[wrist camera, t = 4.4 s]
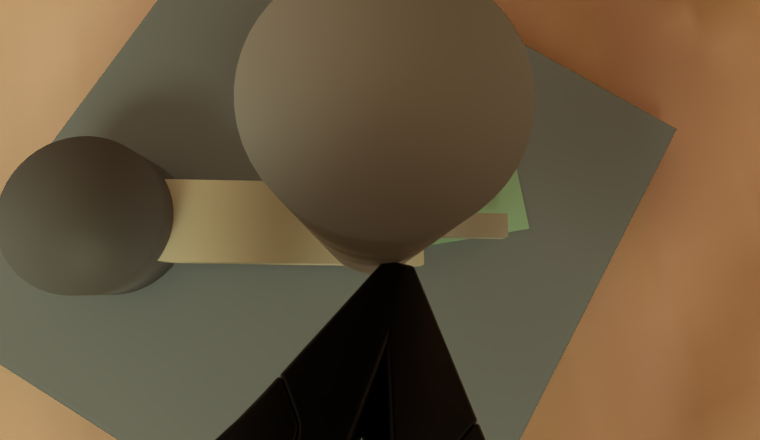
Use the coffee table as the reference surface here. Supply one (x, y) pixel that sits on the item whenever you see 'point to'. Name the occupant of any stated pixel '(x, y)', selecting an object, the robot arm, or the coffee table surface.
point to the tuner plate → (321, 282)
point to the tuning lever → (300, 154)
